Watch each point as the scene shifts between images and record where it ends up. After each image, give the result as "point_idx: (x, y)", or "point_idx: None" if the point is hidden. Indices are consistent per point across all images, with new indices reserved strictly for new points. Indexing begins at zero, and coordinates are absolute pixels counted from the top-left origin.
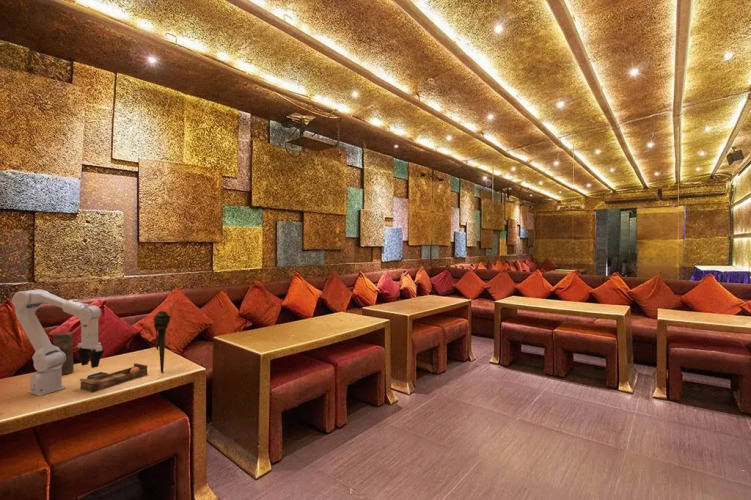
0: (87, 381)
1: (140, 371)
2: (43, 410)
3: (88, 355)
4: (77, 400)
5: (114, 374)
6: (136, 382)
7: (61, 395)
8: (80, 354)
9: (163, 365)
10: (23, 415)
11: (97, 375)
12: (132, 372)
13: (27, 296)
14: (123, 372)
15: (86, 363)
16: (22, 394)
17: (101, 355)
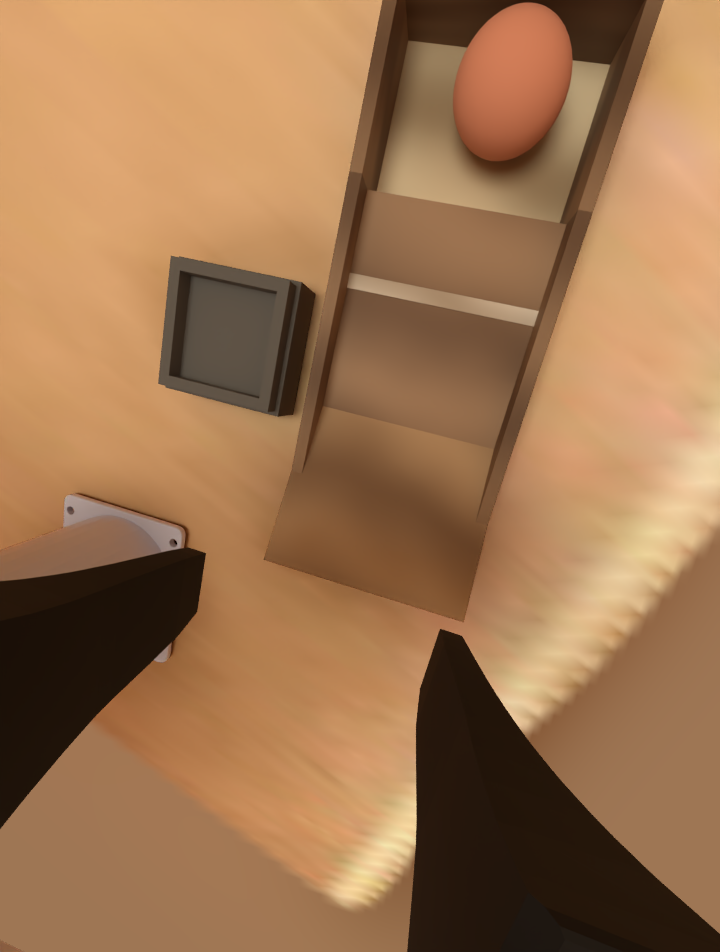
0: (385, 596)
1: (631, 92)
2: None
3: (93, 614)
4: None
5: (350, 259)
6: (684, 302)
7: (288, 637)
8: (26, 788)
9: None
10: (378, 876)
11: (204, 320)
12: (521, 146)
13: None
14: (373, 156)
15: (192, 577)
16: None
17: (580, 811)
